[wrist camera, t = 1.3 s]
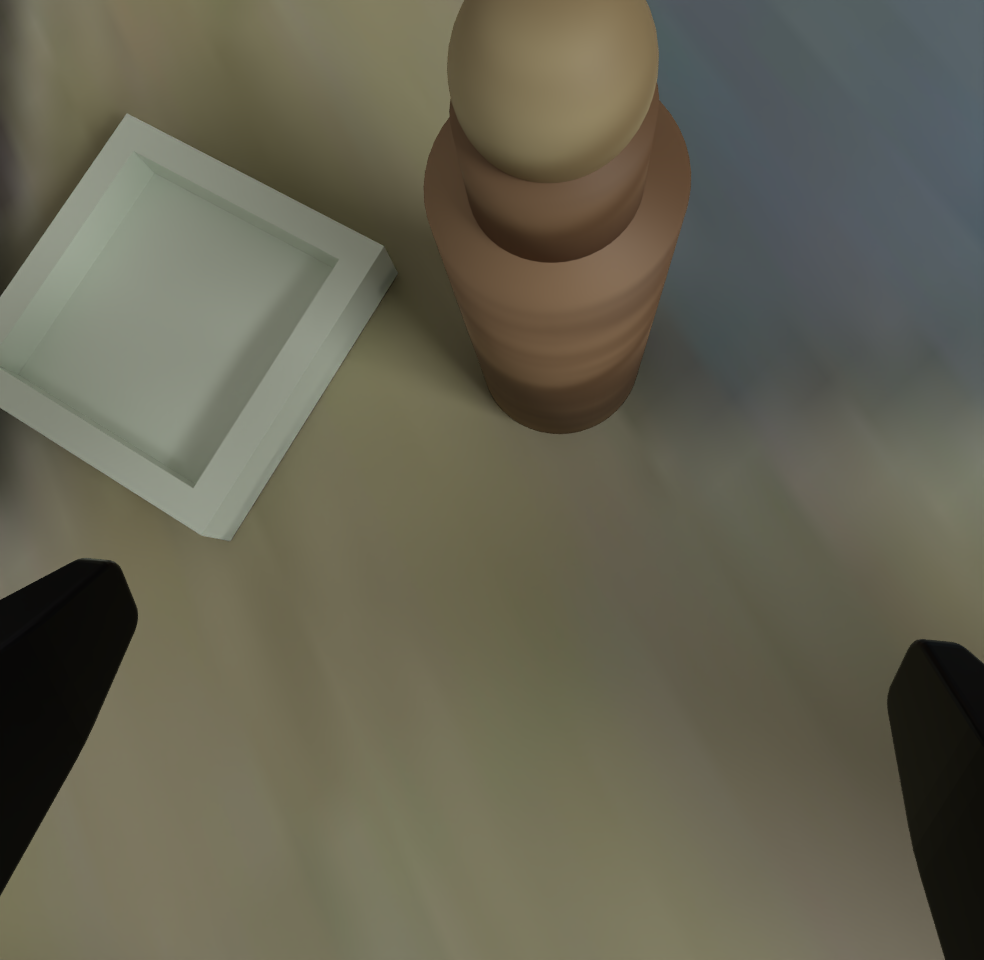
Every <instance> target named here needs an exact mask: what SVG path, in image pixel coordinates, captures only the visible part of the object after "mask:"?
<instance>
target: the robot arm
mask: <svg viewBox="0 0 984 960" xmlns="http://www.w3.org/2000/svg"><path fill="white" fill-rule="evenodd" d="M137 621H138V611H137V607H136V604H135V601H134V599H133V596H132V594H131V592H130V589H129V587H128V584H127V582H126V579H125V577H124V574H123V572H122V570H121V568H120V566H119V565H118V564H116V563H115V562H113V561H111V560H101V559H91V558H82V559H78V560H75V561H73V562H71V563H69V564H68V565H66V566H64V567H62V568H60V569H58V570H56V571H54V572H52V573H50V574H49V575H47V576H45V577H43V578H41V579H39V580H37V581H35V582H33V583H32V584H30V585H28V586H26V587H24V588H22V589H20V590H18V591H16V592H14V593H13V594H11V595H9V596H7V597H5V598H3V599H1V600H0V895H1V894H2V892H3V890H4V888H5V887H6V885H7V883H8V881H9V879H10V878H11V876H12V874H13V872H14V870H15V869H16V867H17V865H18V863H19V862H20V860H21V858H22V856H23V854H24V853H25V851H26V849H27V847H28V846H29V844H30V842H31V840H32V838H33V837H34V835H35V833H36V831H37V829H38V828H39V826H40V824H41V822H42V821H43V819H44V817H45V815H46V813H47V812H48V810H49V808H50V806H51V804H52V803H53V801H54V799H55V797H56V796H57V794H58V792H59V790H60V788H61V787H62V785H63V783H64V781H65V780H66V778H67V776H68V774H69V772H70V771H71V769H72V767H73V765H74V763H75V762H76V760H77V758H78V756H79V754H80V752H81V750H82V748H83V746H84V745H85V743H86V740H87V738H88V736H89V734H90V732H91V730H92V728H93V726H94V724H95V721H96V719H97V717H98V714H99V712H100V710H101V707H102V705H103V703H104V701H105V698H106V696H107V694H108V691H109V689H110V687H111V685H112V682H113V680H114V678H115V675H116V673H117V671H118V668H119V666H120V664H121V662H122V659H123V657H124V655H125V652H126V650H127V648H128V646H129V643H130V641H131V639H132V636H133V634H134V632H135V629H136V626H137ZM887 708H888V715H889V721H890V726H891V732H892V737H893V743H894V749H895V754H896V760H897V765H898V771H899V777H900V782H901V788H902V793H903V799H904V805H905V810H906V816H907V821H908V827H909V832H910V837H911V841H912V846H913V851H914V855H915V858H916V862H917V866H918V869H919V873H920V877H921V880H922V883H923V887H924V890H925V893H926V897H927V900H928V904H929V907H930V910H931V914H932V917H933V920H934V924H935V927H936V931H937V934H938V937H939V941H940V944H941V947H942V951H943V954H944V957H945V960H984V663H982V662H981V661H980V660H979V659H978V658H977V657H975V656H974V655H973V654H972V653H971V652H970V651H968V650H967V649H966V648H964V647H963V646H961V645H960V644H957V643H954V642H946V641H936V640H926V639H920V640H916V641H915V642H913V643H912V644H911V645H910V647H909V649H908V650H907V653H906V655H905V657H904V659H903V661H902V663H901V665H900V667H899V669H898V671H897V673H896V675H895V677H894V679H893V682H892V684H891V686H890V688H889V692H888V699H887Z"/></svg>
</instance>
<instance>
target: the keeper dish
mask: <svg viewBox="0 0 984 960" xmlns="http://www.w3.org/2000/svg"><path fill="white" fill-rule="evenodd" d="M397 274H398V273H397V271H396V269H395V267H394V265H393V263H392V261H391V259H390V257H389V255H388V253H387V251H386V249H385V247H384V246H383V245H381V244H379V243H377V242H375V241H373V240H371V239H369V238H368V237H366V236H364V235H362V234H360V233H358V232H356V231H354V230H352V229H350V228H348V227H346V226H344V225H342V224H340V223H338V222H337V221H335V220H333V219H331V218H329V217H327V216H325V215H323V214H321V213H319V212H317V211H315V210H313V209H311V208H309V207H307V206H306V205H304V204H302V203H300V202H298V201H296V200H294V199H292V198H290V197H288V196H286V195H284V194H282V193H280V192H278V191H276V190H275V189H273V188H271V187H269V186H267V185H265V184H263V183H261V182H259V181H257V180H255V179H253V178H251V177H249V176H247V175H245V174H244V173H242V172H240V171H238V170H236V169H234V168H232V167H230V166H228V165H226V164H224V163H222V162H220V161H218V160H216V159H214V158H213V157H211V156H209V155H207V154H205V153H203V152H201V151H199V150H197V149H195V148H193V147H191V146H189V145H187V144H185V143H183V142H182V141H180V140H178V139H176V138H174V137H172V136H170V135H168V134H166V133H164V132H162V131H160V130H158V129H156V128H154V127H153V126H151V125H149V124H147V123H145V122H143V121H141V120H139V119H137V118H135V117H133V116H131V115H129V114H126V115H125V117H124V118H123V120H122V121H121V123H120V124H119V126H118V127H117V128H116V130H115V131H114V133H113V134H112V136H111V137H110V139H109V140H108V142H107V143H106V144H105V146H104V147H103V149H102V150H101V152H100V153H99V155H98V156H97V158H96V159H95V160H94V162H93V163H92V165H91V166H90V168H89V169H88V171H87V172H86V173H85V175H84V176H83V178H82V179H81V181H80V182H79V184H78V185H77V187H76V188H75V189H74V191H73V192H72V194H71V195H70V197H69V198H68V200H67V201H66V202H65V204H64V205H63V207H62V208H61V210H60V211H59V213H58V214H57V216H56V217H55V218H54V220H53V221H52V223H51V224H50V226H49V227H48V229H47V230H46V232H45V233H44V234H43V236H42V237H41V239H40V240H39V242H38V243H37V245H36V246H35V247H34V249H33V250H32V252H31V253H30V255H29V256H28V258H27V259H26V261H25V262H24V263H23V265H22V266H21V268H20V269H19V271H18V272H17V274H16V275H15V276H14V278H13V279H12V281H11V282H10V284H9V285H8V287H7V288H6V290H5V291H4V292H3V294H2V295H1V297H0V408H1V409H3V410H4V411H6V412H8V413H9V414H11V415H12V416H14V417H16V418H17V419H19V420H20V421H22V422H23V423H25V424H27V425H28V426H30V427H31V428H33V429H34V430H36V431H38V432H39V433H41V434H42V435H44V436H45V437H47V438H49V439H50V440H52V441H53V442H55V443H57V444H58V445H60V446H61V447H63V448H64V449H66V450H68V451H69V452H71V453H72V454H74V455H75V456H77V457H79V458H80V459H82V460H83V461H85V462H86V463H88V464H90V465H91V466H93V467H94V468H96V469H98V470H99V471H101V472H102V473H104V474H105V475H107V476H109V477H110V478H112V479H113V480H115V481H116V482H118V483H120V484H121V485H123V486H124V487H126V488H127V489H129V490H131V491H132V492H134V493H135V494H137V495H139V496H140V497H142V498H143V499H145V500H146V501H148V502H150V503H151V504H153V505H154V506H156V507H157V508H159V509H161V510H162V511H164V512H165V513H167V514H168V515H170V516H172V517H173V518H175V519H176V520H178V521H180V522H181V523H183V524H184V525H186V526H187V527H189V528H191V529H192V530H194V531H195V532H197V533H198V534H200V535H202V536H207V537H212V538H217V539H222V540H227V541H231V539H232V538H233V536H234V534H235V533H236V531H237V530H238V528H239V527H240V525H241V523H242V522H243V520H244V519H245V517H246V515H247V514H248V512H249V511H250V509H251V507H252V506H253V504H254V503H255V501H256V499H257V498H258V496H259V495H260V493H261V491H262V490H263V488H264V487H265V485H266V483H267V482H268V480H269V479H270V477H271V475H272V474H273V472H274V471H275V469H276V467H277V466H278V464H279V463H280V461H281V459H282V458H283V456H284V455H285V453H286V451H287V450H288V448H289V447H290V445H291V443H292V442H293V440H294V439H295V437H296V435H297V434H298V432H299V431H300V429H301V427H302V426H303V424H304V423H305V421H306V419H307V418H308V416H309V415H310V413H311V411H312V410H313V408H314V407H315V405H316V404H317V402H318V400H319V399H320V397H321V396H322V394H323V392H324V391H325V389H326V388H327V386H328V384H329V383H330V381H331V380H332V378H333V376H334V375H335V373H336V372H337V370H338V368H339V367H340V365H341V364H342V362H343V360H344V359H345V357H346V356H347V354H348V352H349V351H350V349H351V348H352V346H353V344H354V343H355V341H356V340H357V338H358V336H359V335H360V333H361V332H362V330H363V328H364V327H365V325H366V324H367V322H368V320H369V319H370V317H371V316H372V314H373V312H374V311H375V309H376V308H377V306H378V304H379V303H380V301H381V300H382V298H383V296H384V295H385V293H386V292H387V290H388V288H389V287H390V285H391V284H392V282H393V280H394V279H395V277H396V276H397Z"/></svg>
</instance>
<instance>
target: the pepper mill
mask: <svg viewBox="0 0 984 960" xmlns="http://www.w3.org/2000/svg"><path fill="white" fill-rule="evenodd" d="M658 59H659V52H658V43H657V34H656V29H655V25H654V21H653V18H652V14H651V11H650V9H649V6H648V4H647V2H646V0H464V2H463V4H462V6H461V8H460V11H459V13H458V15H457V18H456V20H455V23H454V26H453V30H452V34H451V39H450V43H449V49H448V62H447V74H448V85H449V92H450V97H451V99H450V110H449V112H450V117H449V118H448V120H447V121H446V123H445V124H444V125H443V127H442V129H441V130H440V132H439V134H438V136H437V138H436V140H435V142H434V144H433V147H432V149H431V152H430V154H429V158H428V162H427V166H426V170H425V179H424V203H425V208H426V213H427V218H428V221H429V224H430V227H431V230H432V233H433V236H434V238H435V241H436V244H437V247H438V250H439V252H440V255H441V258H442V261H443V264H444V266H445V269H446V272H447V275H448V277H449V280H450V283H451V286H452V289H453V291H454V294H455V297H456V300H457V302H458V305H459V308H460V311H461V314H462V316H463V319H464V322H465V325H466V327H467V330H468V333H469V336H470V339H471V341H472V344H473V347H474V350H475V353H476V355H477V358H478V361H479V364H480V366H481V369H482V372H483V375H484V378H485V380H486V383H487V386H488V389H489V391H490V393H491V395H492V397H493V398H494V400H495V401H496V403H497V404H498V405H499V406H500V408H501V409H502V410H503V411H504V412H505V413H506V414H507V415H509V416H510V417H511V418H512V419H514V420H515V421H517V422H518V423H520V424H522V425H524V426H526V427H528V428H530V429H533V430H537V431H540V432H545V433H552V434H566V433H574V432H579V431H583V430H586V429H588V428H591V427H593V426H595V425H597V424H599V423H601V422H603V421H604V420H606V419H607V418H609V417H610V416H611V415H612V414H613V413H614V412H616V411H617V410H618V409H619V407H620V406H621V405H622V404H623V403H624V401H625V400H626V398H627V397H628V395H629V394H630V392H631V390H632V388H633V386H634V383H635V380H636V377H637V373H638V370H639V367H640V363H641V360H642V357H643V353H644V350H645V347H646V343H647V340H648V337H649V333H650V330H651V326H652V323H653V320H654V316H655V313H656V310H657V306H658V303H659V300H660V296H661V293H662V290H663V286H664V283H665V280H666V276H667V273H668V270H669V266H670V263H671V260H672V256H673V253H674V249H675V246H676V243H677V239H678V236H679V233H680V229H681V226H682V223H683V219H684V216H685V213H686V209H687V206H688V201H689V195H690V189H691V169H690V160H689V155H688V151H687V147H686V144H685V141H684V138H683V136H682V134H681V131H680V129H679V127H678V125H677V124H676V122H675V120H674V119H673V117H672V115H671V114H670V113H669V111H668V110H667V109H666V108H665V107H664V105H663V104H662V103H661V102H660V101H659V93H658V85H657V75H658Z"/></svg>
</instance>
